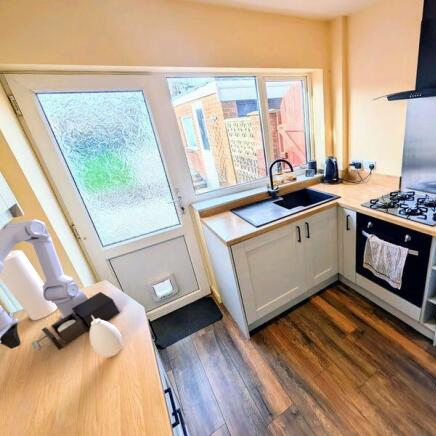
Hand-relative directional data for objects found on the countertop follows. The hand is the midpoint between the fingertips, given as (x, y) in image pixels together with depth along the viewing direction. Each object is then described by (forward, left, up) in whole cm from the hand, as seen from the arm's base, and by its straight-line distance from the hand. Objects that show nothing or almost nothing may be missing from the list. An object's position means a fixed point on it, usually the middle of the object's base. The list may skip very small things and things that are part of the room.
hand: (16, 345), depth 82 cm
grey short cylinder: (-13, 0, -7) cm, 14 cm away
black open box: (-10, 0, -8) cm, 13 cm away
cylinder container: (-12, -30, -9) cm, 33 cm away
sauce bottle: (-16, +24, -9) cm, 31 cm away
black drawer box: (-22, 0, -9) cm, 24 cm away
